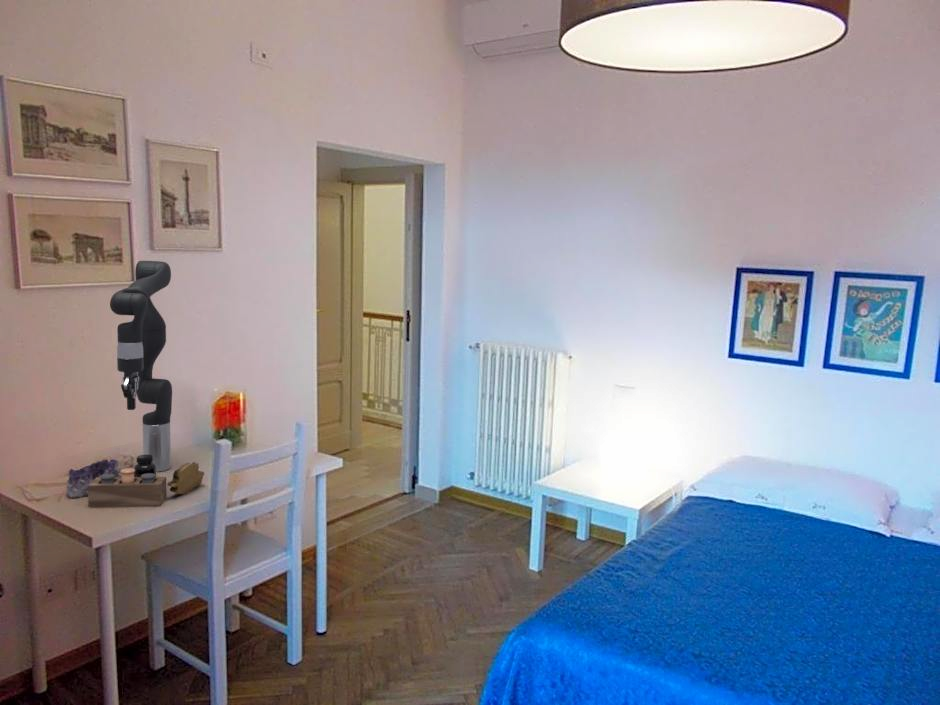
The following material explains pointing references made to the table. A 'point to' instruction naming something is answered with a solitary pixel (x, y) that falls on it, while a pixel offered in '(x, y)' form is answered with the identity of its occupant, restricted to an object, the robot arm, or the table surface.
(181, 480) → the wooden carving
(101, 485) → the walnut socket block
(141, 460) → the supplement bottle
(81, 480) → the geode
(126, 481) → the terracotta plug
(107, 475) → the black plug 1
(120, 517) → the table surface
